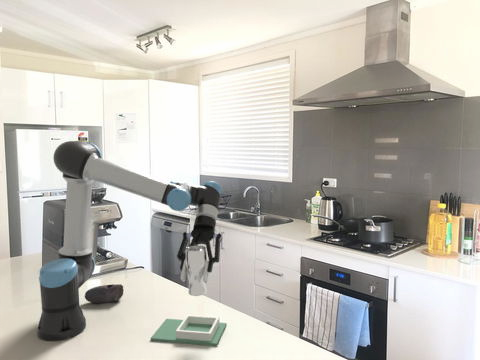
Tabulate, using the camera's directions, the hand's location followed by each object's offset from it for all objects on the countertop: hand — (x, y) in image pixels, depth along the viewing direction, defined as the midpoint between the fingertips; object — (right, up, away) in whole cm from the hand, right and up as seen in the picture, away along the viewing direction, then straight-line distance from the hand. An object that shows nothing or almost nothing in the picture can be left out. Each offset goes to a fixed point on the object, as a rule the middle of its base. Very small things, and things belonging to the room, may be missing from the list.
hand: (193, 280), depth 126 cm
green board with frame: (-2, -19, +6) cm, 20 cm away
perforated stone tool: (-40, -17, +32) cm, 54 cm away
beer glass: (+1, -5, +4) cm, 7 cm away
